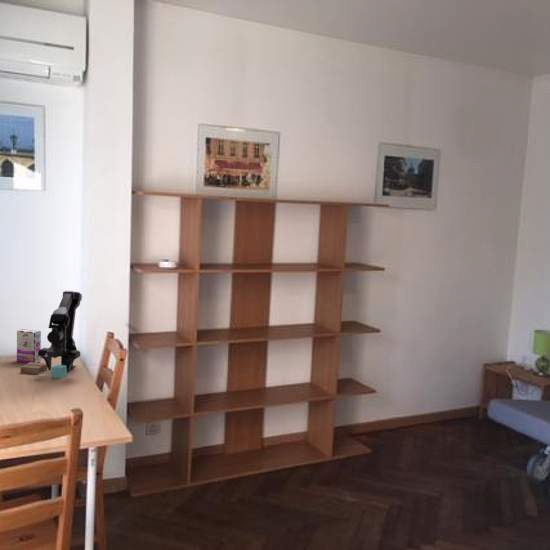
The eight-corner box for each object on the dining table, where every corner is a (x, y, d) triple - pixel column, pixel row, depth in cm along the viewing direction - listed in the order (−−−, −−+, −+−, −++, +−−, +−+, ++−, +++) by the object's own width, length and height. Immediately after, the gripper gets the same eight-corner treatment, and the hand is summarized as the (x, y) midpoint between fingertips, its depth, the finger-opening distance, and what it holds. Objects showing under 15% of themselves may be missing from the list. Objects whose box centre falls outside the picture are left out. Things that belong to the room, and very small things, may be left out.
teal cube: (56, 374, 289) (56, 364, 288) (66, 375, 288) (66, 365, 288) (51, 377, 284) (51, 367, 283) (61, 378, 283) (61, 368, 283)
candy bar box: (41, 362, 310) (41, 330, 308) (34, 364, 305) (34, 332, 303) (22, 359, 313) (23, 328, 311) (16, 361, 308) (16, 330, 306)
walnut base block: (30, 368, 298) (30, 362, 297) (47, 369, 297) (47, 363, 296) (20, 372, 289) (20, 366, 288) (38, 374, 288) (38, 368, 287)
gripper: (32, 340, 277) (31, 373, 279) (70, 344, 275) (70, 377, 277) (43, 336, 288) (43, 367, 290) (81, 339, 286) (80, 371, 288)
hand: (58, 371), depth 286 cm, fingers open, 9 cm apart
